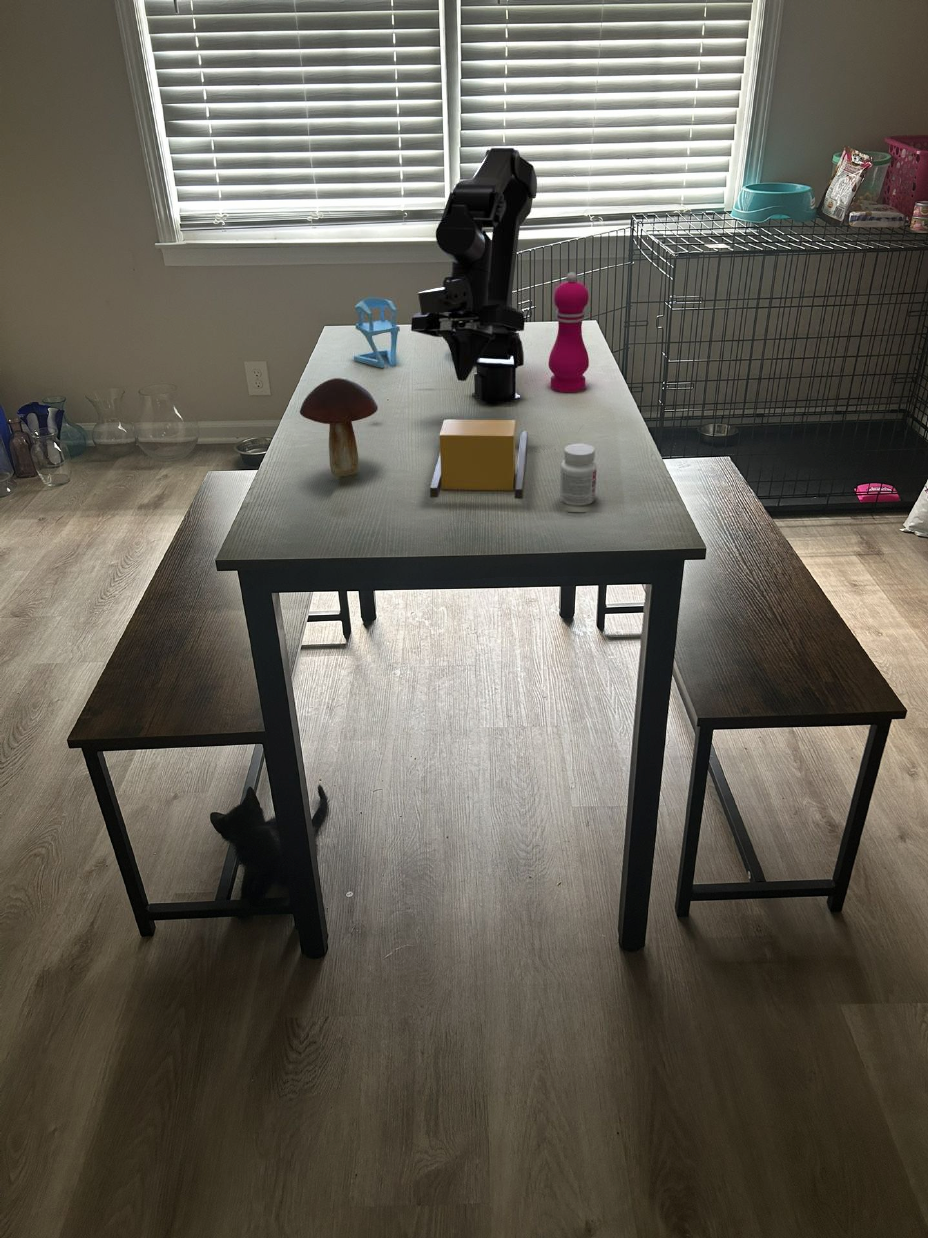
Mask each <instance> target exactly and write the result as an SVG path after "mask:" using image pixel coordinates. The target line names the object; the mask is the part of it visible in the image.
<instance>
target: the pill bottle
mask: <svg viewBox="0 0 928 1238" xmlns="http://www.w3.org/2000/svg"><path fill="white" fill-rule="evenodd" d="M595 450H596V449H595V447H594V446H592V445H590V444H586V443H571V444H569V445H566V446H565V447H564V449H563V451H564V452H563V460H562V462H561V465H560V477H559V478H560V479H559V500H560V501H561V502H562V503H564V504H566V505H570V506H576V507H577V506H578V507H579V506H581V507H582V506H587V505H590V504H592V503H593V502H594V501H595V500H596V484H597V469H598V468H597V467H598V466H597V463H596V462H595V457H596V456H595V455H596V454H595ZM568 513H569V514H578V515H579V514H587V513H588V512H587V511H568Z"/></svg>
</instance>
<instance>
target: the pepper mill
mask: <svg viewBox="0 0 928 1238" xmlns="http://www.w3.org/2000/svg"><path fill="white" fill-rule="evenodd" d="M577 280H578V275H577V274H576V272H574V271H571V272H568V274H566V281H563V282H561V283H560V284H559V285H558V286H557V287H556V288H555V290H554V292H553V303H554V306H555V307H556V308H557V310H556V311H555V314H556V316H555V319H556V321H557V325H558V328H557V335H556V337H555V338H556V339H555V340H554V341H555V342H554V344H553V346H552V347H551V350H550V353H549V357H548V365H547V366H548V368H549V370H550V372H551V373H552V375H551V377H550V388H551V389H552V390H553V391H556V392H560V393H576V392H580V391H583V390H584V389H585V388H586V376H585V375H584V374H585V373H586V372H587V370H588V369H589V366H590V358H589V353H588V350H587V347H586V345H585V342H584V338H583V330H582V328H583V327H582V326H583V321H584V320H585V318H586V316H585V314H586V311H585V310H584V309H585V307H586V306H587V305H588V303H589V291H588V289H587V287H586V285H584V284H583V283H581V282H579V281H577Z"/></svg>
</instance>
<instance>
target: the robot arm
mask: <svg viewBox="0 0 928 1238" xmlns="http://www.w3.org/2000/svg"><path fill="white" fill-rule="evenodd" d="M537 190H538V179H537V175H536V170H535V167H534V165H533V164H532V163H531V162H529V161H528V160H526V159H524V158H523V157H521V154H520V151H519V150H518V149H515V148H514V147H491V148H490V149H486V151H485V156H484V160H483V161H482V163H481V165H480V166H479V168H478V169H477V171H476V172H475V174H474V175H473V177H471V178H467V179H463V180H460V181H458V182H457V183H456V184H455V185H454V186H453V188H452V191H450V192H449V195H448V198H447V201H446V204H445V206H444V210H443V213H442V215H441V220H440V221H439V222H438V225H437V228H436V229H435V240H436V244H437V245H438V247H439V249H441V251H442V252H443V253H444V254H445V255H446V256H447V257H448V258H449V259H450V260H451V271H450V276H446V277H444V279H443V281H442V287H437V288H433V289H428V290H424V291H420V292H417V295H418V301H419V302H418V303H419V307H420V312H416V313H415V314H414V315H413V316H412V317H411V324H410V325H411V327H410V331H411V332H414V333H418V334H422V335H426V336H430V337H434V338H443V339H444V341H445V342H446V343H447V346H448V349H449V351H450V352H449V353H450V355H451V359H452V364H453V368H454V372H455V375H456V379H457V380H458V381H460V382H466V381H467V379H468V378H469V377H470V374H471V372H472V371H473V369H474V367H476V368H475V370H476V371H475V373H473V378H474V381H473V382H474V383H473V385H474V388H473V389H474V392H471V396H472V397H473V398H475V399H477V400H478V401H480V402H482V403H484V404H486V405H488V406H496V405H500V404H505V403H509V402H513V401H519V400H521V398H522V397H521V395H519V394H517V391H516V390H517V389H516V388H517V385H516V384H517V383H516V382H517V369H518V368H519V367H522V366H524V364H525V361H524V359H525V353H524V349H523V348H524V347H523V341H522V339H521V335H520V332H524V331H525V322H526V319H525V318H526V317H525V315H524V313H523V311H522V310H521V309H518V308H515V307H512V297H513V290H514V289H513V288H514V279H515V271H516V263H517V253H518V247H519V246H518V245H519V238H520V237H519V235H520V228H521V226H522V224H523V223H524V222H525V220H526V219H527V218H528V217H529V215H530V214H531V213H532V207H533V200H534V199H536V197H537V194H538V193H537V192H538V191H537ZM483 228H492V234H491V238H490V236H489V235H488V234H487V231H486V230H483ZM460 321H461V322H460ZM459 322H460V323H459Z"/></svg>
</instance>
